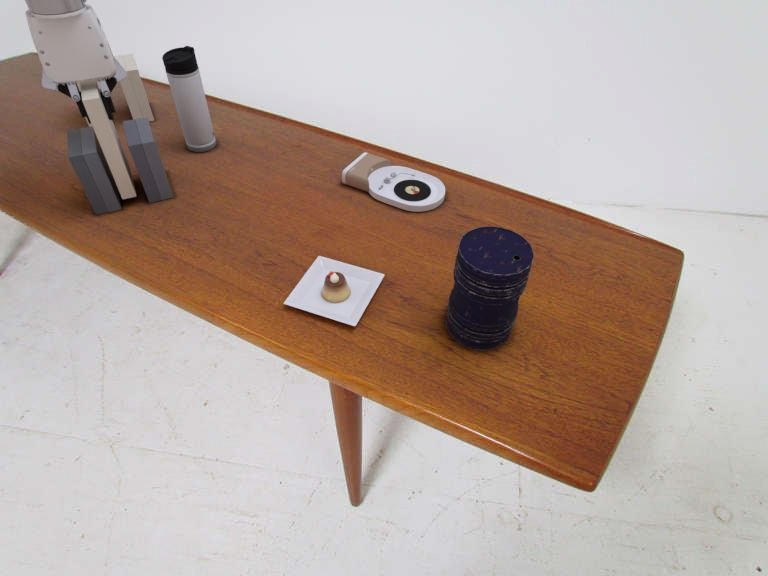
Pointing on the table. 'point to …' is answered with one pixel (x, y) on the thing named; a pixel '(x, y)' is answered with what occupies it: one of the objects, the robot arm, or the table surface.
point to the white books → (132, 89)
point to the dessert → (335, 290)
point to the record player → (394, 183)
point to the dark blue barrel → (488, 286)
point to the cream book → (107, 138)
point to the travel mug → (189, 98)
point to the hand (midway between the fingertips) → (100, 117)
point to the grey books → (98, 174)
